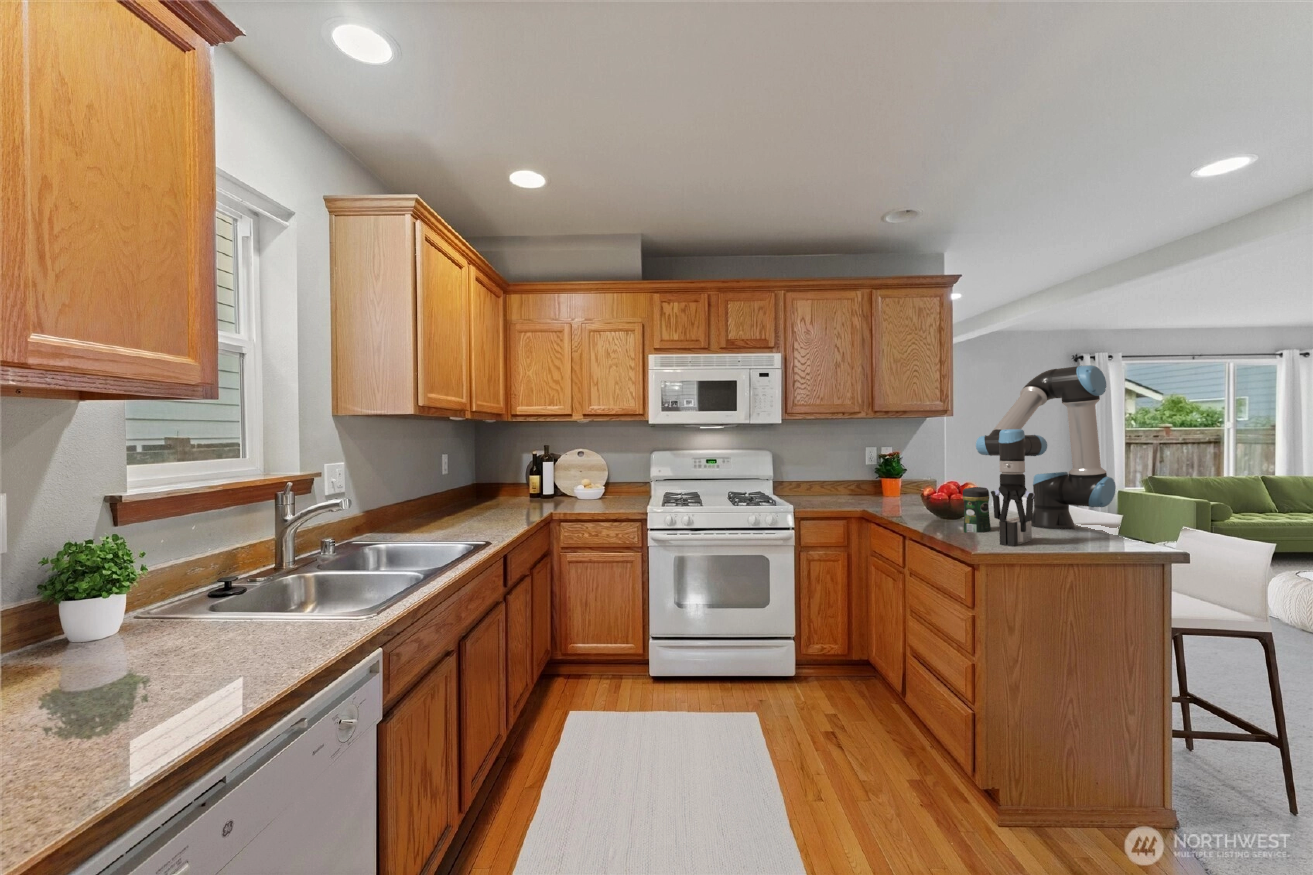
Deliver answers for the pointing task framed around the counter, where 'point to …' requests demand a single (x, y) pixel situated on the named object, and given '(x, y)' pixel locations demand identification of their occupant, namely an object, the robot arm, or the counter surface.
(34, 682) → the counter surface
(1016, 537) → the grey flat box
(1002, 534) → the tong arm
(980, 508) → the coffee jar
